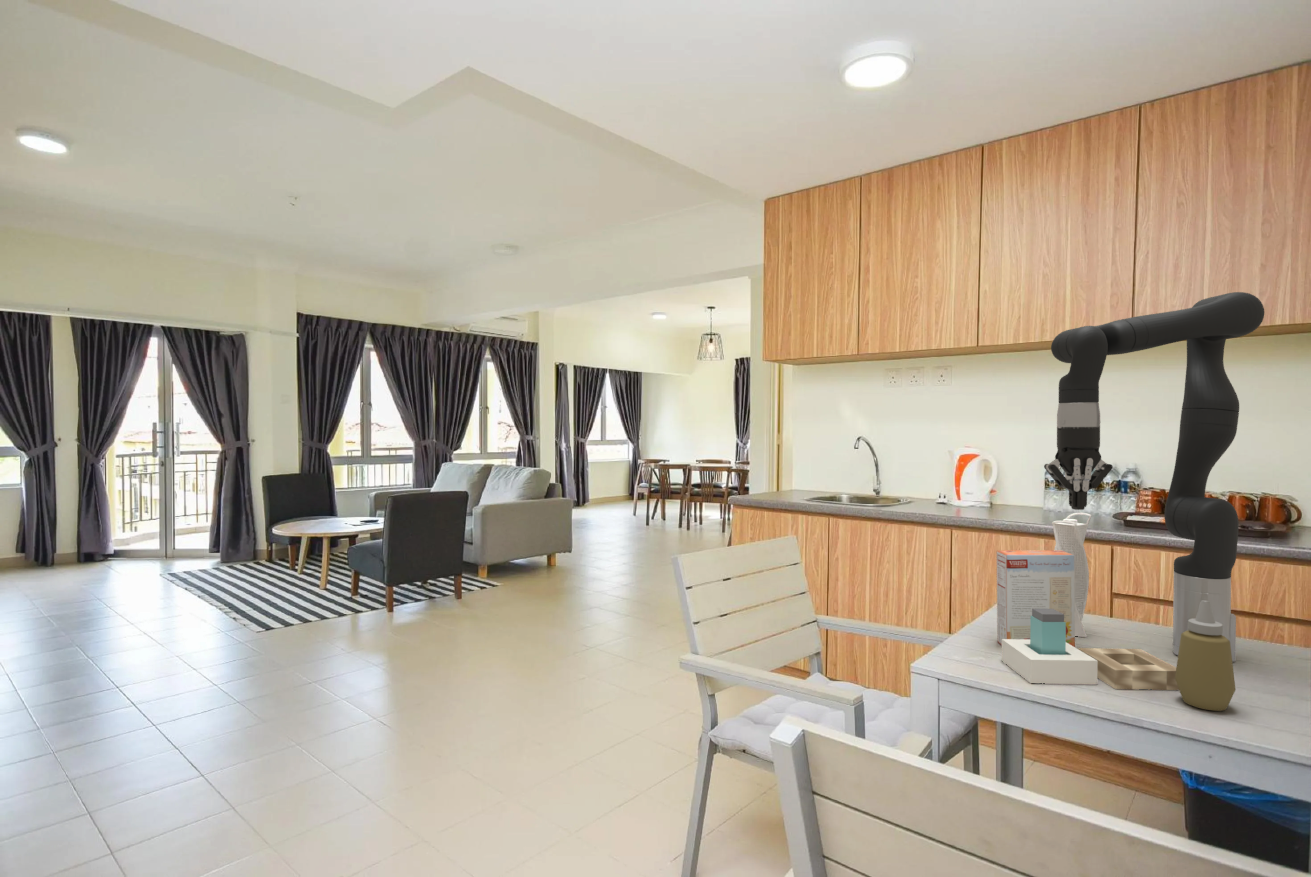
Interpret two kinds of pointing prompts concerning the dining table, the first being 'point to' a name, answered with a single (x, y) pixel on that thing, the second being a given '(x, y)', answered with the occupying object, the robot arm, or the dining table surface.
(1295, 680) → the dining table surface
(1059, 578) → the cracker box
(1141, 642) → the dining table surface
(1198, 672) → the squeeze bottle
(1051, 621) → the plug
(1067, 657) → the port block
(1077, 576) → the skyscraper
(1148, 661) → the wooden square frame
